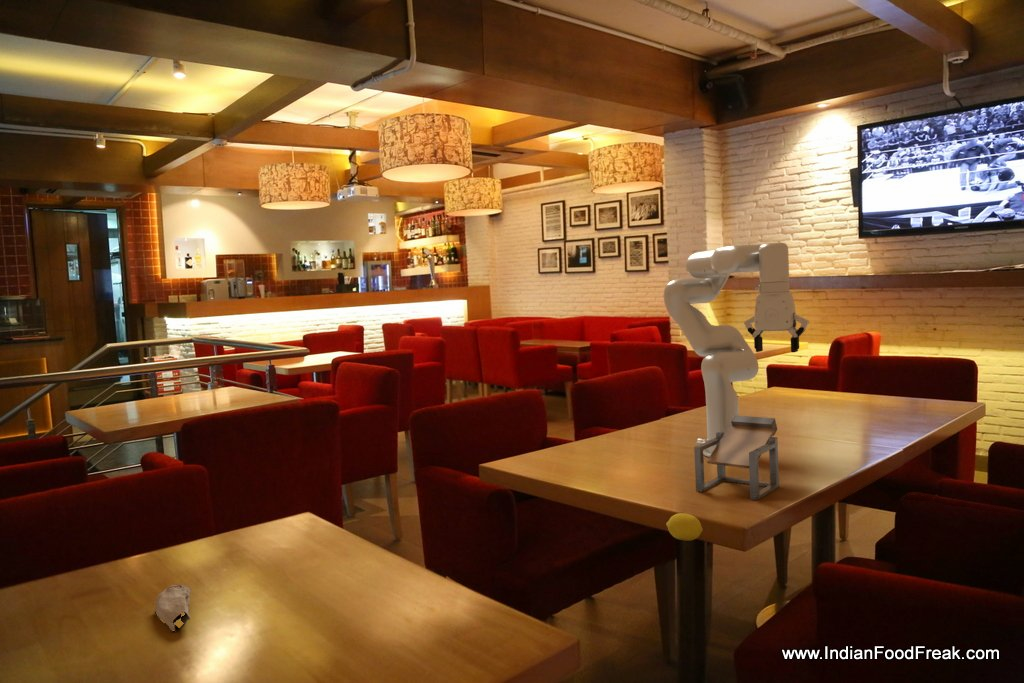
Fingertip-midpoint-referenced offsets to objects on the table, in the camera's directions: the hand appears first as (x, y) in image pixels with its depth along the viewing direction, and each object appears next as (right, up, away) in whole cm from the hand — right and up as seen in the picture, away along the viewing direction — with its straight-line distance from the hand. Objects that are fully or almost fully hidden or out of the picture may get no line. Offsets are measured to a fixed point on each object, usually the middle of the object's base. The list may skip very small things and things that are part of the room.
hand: (776, 351), depth 198 cm
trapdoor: (-12, -25, -9) cm, 29 cm away
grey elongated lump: (-131, -46, -70) cm, 155 cm away
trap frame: (-14, -35, -12) cm, 40 cm away
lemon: (-39, -36, -44) cm, 69 cm away
